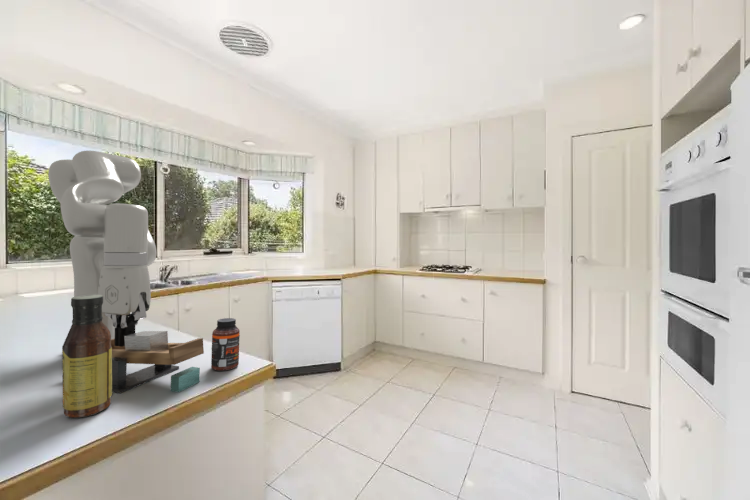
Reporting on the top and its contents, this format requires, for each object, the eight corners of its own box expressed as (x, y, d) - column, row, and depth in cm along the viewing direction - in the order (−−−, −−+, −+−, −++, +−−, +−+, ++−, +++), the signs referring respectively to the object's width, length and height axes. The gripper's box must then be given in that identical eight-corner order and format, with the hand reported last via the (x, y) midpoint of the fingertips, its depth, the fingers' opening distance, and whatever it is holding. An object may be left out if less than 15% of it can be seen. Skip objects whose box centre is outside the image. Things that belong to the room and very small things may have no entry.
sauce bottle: (84, 401, 56) (86, 292, 56) (120, 401, 57) (122, 293, 57) (49, 422, 50) (51, 298, 50) (91, 421, 50) (93, 299, 50)
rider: (125, 355, 66) (124, 335, 66) (144, 349, 69) (143, 331, 69) (150, 355, 64) (149, 335, 64) (168, 349, 67) (167, 330, 68)
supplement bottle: (227, 373, 71) (229, 323, 71) (205, 370, 72) (206, 321, 72) (244, 363, 77) (245, 317, 76) (222, 361, 78) (223, 316, 78)
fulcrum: (61, 381, 64) (61, 353, 64) (126, 360, 77) (127, 336, 77) (159, 401, 57) (159, 370, 57) (214, 374, 70) (214, 348, 70)
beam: (79, 374, 67) (77, 347, 67) (117, 361, 74) (116, 338, 74) (173, 378, 60) (171, 348, 60) (206, 363, 67) (204, 337, 67)
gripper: (82, 260, 67) (80, 346, 67) (134, 262, 62) (132, 353, 62) (119, 259, 74) (118, 337, 74) (168, 261, 70) (167, 343, 70)
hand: (124, 344), depth 68 cm, fingers closed
